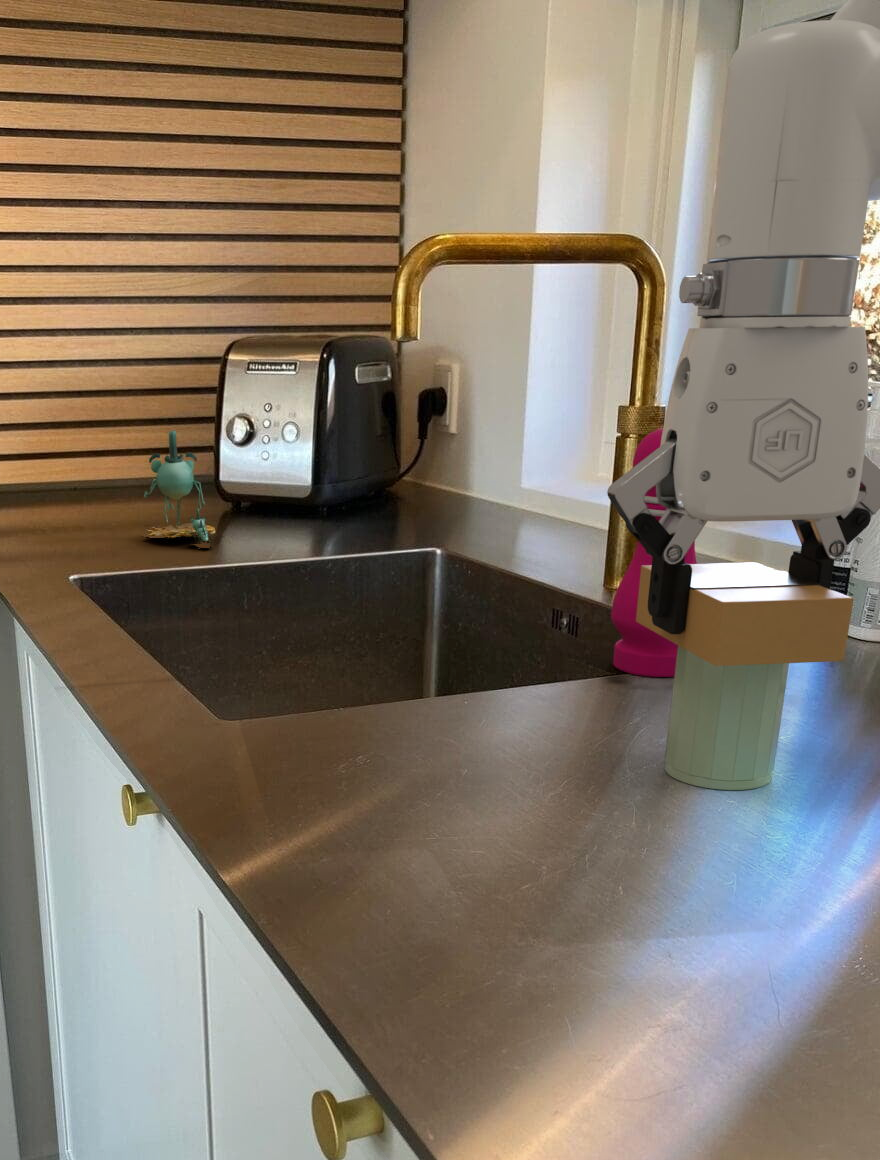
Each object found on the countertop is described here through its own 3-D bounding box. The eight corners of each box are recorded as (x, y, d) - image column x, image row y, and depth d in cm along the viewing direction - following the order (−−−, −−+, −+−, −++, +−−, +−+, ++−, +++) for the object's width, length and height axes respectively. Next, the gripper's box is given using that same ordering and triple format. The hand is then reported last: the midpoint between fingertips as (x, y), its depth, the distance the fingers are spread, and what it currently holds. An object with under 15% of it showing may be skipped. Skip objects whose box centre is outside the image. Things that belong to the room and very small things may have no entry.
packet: (635, 621, 76) (640, 564, 74) (748, 617, 76) (756, 560, 75) (714, 666, 66) (722, 600, 64) (844, 661, 66) (854, 596, 65)
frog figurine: (151, 554, 149) (141, 428, 145) (135, 547, 166) (125, 434, 162) (228, 549, 151) (220, 425, 147) (204, 543, 168) (196, 431, 164)
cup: (741, 753, 77) (758, 630, 74) (791, 787, 71) (811, 655, 69) (648, 758, 77) (661, 634, 74) (690, 792, 71) (706, 659, 68)
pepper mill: (660, 652, 101) (686, 400, 94) (720, 673, 95) (753, 405, 88) (588, 661, 99) (609, 403, 92) (645, 683, 92) (673, 408, 85)
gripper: (647, 298, 60) (614, 647, 66) (975, 296, 62) (912, 636, 68) (593, 302, 67) (568, 617, 73) (889, 300, 69) (840, 608, 75)
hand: (734, 624), depth 71 cm, fingers closed on packet, 7 cm apart
